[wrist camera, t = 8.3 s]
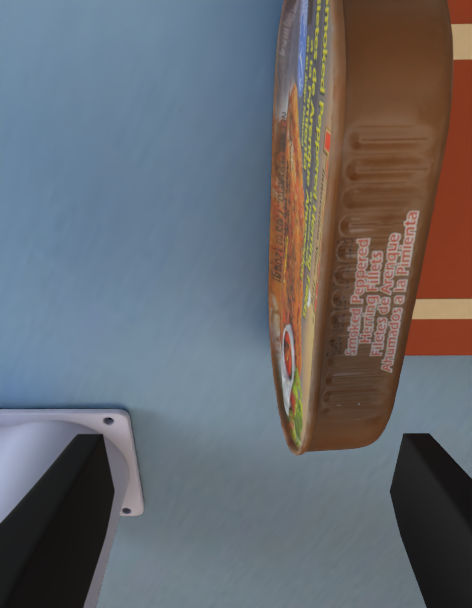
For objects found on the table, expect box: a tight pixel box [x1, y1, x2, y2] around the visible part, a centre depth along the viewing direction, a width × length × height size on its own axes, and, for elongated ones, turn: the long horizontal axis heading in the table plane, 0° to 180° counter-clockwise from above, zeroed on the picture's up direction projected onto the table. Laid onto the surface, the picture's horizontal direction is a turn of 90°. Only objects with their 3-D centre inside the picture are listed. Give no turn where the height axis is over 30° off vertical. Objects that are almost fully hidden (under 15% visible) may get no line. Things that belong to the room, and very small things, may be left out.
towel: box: [405, 0, 472, 355], centre depth 17 cm, size 7×15×1 cm, turn 1°
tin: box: [268, 0, 453, 455], centre depth 14 cm, size 15×3×8 cm, turn 1°
